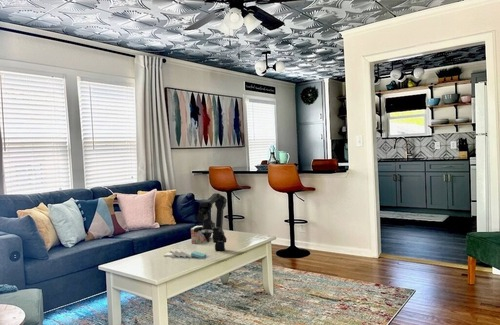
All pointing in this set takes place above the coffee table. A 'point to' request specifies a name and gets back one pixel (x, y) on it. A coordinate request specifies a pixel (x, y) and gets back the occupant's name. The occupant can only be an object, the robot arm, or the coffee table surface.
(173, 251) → the domino
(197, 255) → the domino
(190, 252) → the domino
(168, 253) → the domino
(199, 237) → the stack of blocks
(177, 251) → the domino
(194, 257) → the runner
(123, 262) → the coffee table surface
